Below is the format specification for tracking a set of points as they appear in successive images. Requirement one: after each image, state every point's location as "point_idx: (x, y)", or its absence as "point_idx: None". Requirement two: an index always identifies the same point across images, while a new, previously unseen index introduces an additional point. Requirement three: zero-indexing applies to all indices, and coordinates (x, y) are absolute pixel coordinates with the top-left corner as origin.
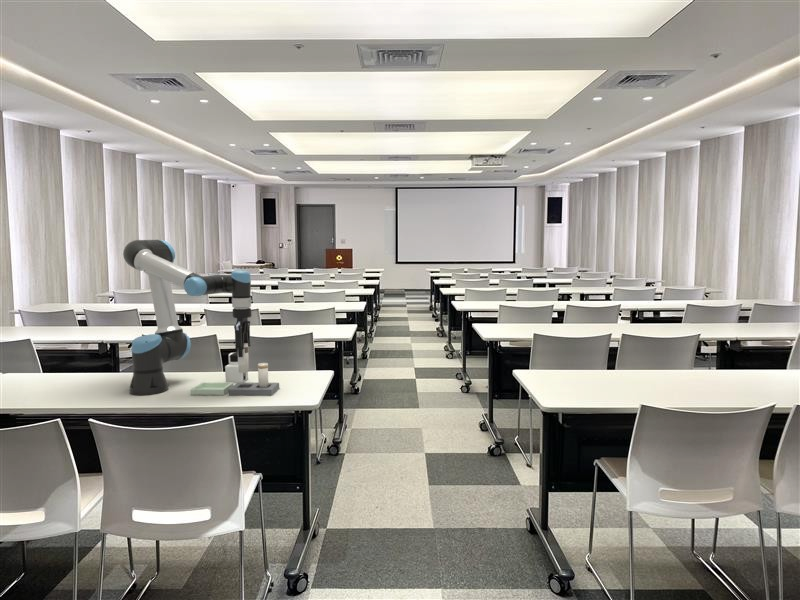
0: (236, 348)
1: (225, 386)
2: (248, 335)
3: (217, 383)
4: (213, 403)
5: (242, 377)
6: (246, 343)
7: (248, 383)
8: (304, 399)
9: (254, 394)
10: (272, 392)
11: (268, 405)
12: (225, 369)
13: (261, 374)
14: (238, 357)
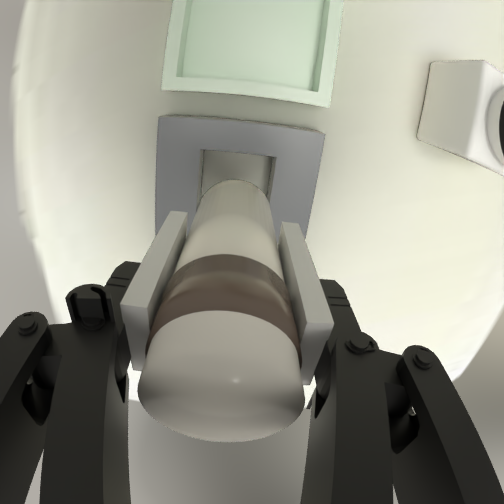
0: (32, 320)
1: (233, 80)
2: (403, 498)
3: (326, 22)
4: (48, 100)
5: (434, 145)
6: (232, 433)
7: (291, 197)
8: (134, 381)
9: None
10: None
11: (55, 303)
12: (471, 61)
13: None
14: (154, 248)
